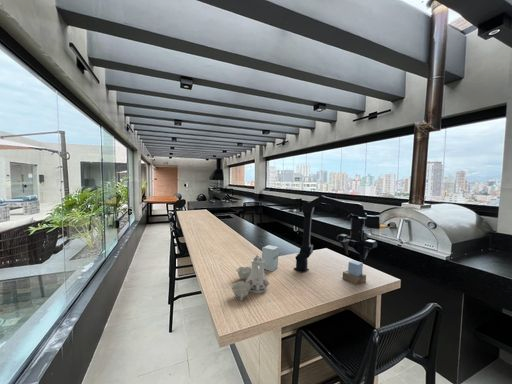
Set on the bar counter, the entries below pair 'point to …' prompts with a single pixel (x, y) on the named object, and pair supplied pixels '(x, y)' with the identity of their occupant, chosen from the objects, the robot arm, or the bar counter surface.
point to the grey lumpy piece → (251, 279)
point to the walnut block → (354, 278)
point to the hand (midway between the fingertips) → (355, 256)
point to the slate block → (355, 268)
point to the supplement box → (270, 257)
